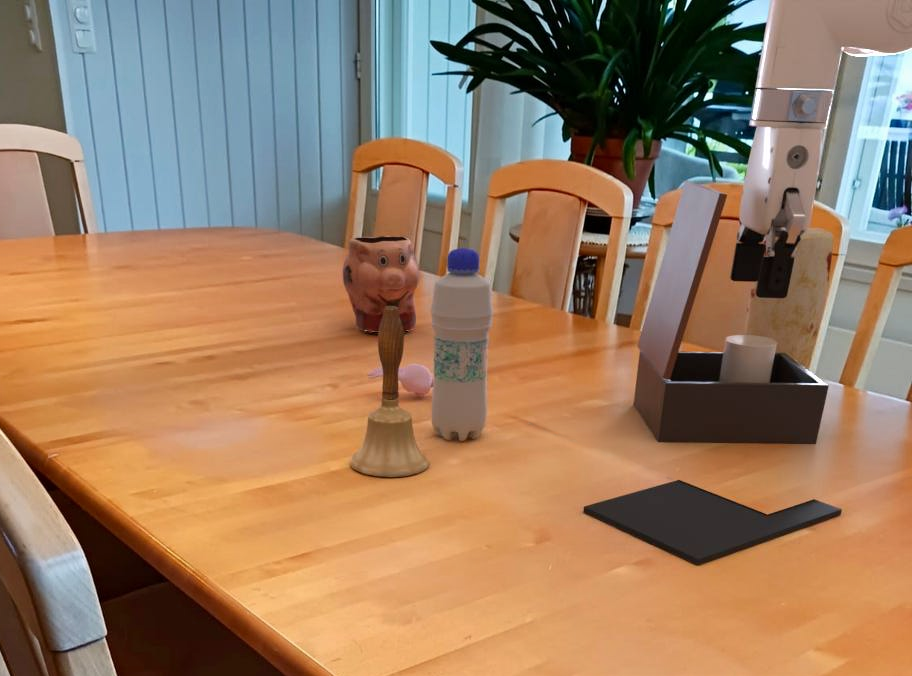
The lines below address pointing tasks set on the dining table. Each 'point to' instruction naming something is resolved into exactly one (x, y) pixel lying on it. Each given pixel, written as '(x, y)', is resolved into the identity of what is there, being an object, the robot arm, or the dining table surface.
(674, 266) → the open box lid
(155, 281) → the dining table surface
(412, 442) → the hand bell
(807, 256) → the food model
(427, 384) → the rabbit figure
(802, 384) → the hinged jewelry box
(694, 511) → the mat
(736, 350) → the tall white cylinder
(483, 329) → the bottle
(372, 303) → the decorative planter
